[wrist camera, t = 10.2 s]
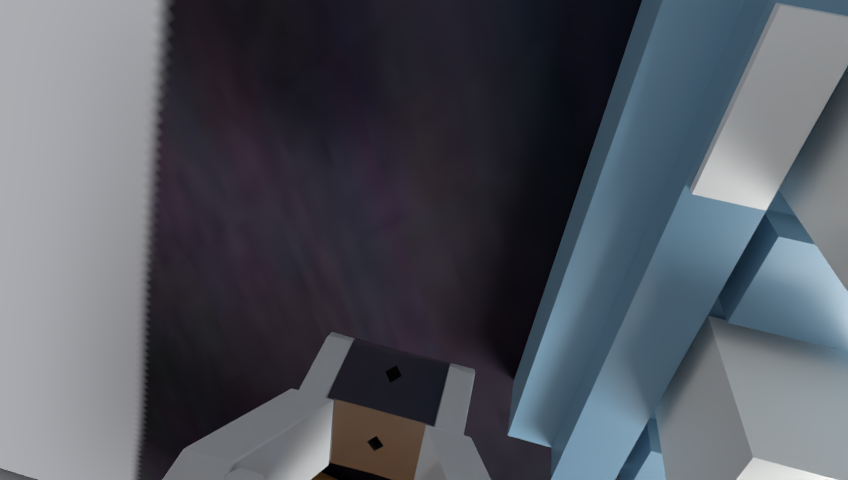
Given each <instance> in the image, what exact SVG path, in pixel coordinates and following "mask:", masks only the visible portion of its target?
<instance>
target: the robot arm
mask: <svg viewBox="0 0 848 480" xmlns="http://www.w3.org/2000/svg"><path fill="white" fill-rule="evenodd" d="M449 364H450V366H449ZM448 369H449V370H448ZM447 373H448V374H447ZM446 377H447V378H446ZM474 377H475V370H474V369H472V368H468V367H464V366H460V365H456V364H452V363H448V362H444V361H440V360H436V359H432V358H428V357H424V356H420V355H416V354H412V353H408V352H404V351H399V350H395V349H392V348H388V347H385V346H381V345H378V344H374V343H371V342H367V341H364V340H360V339H357V338H356V339H355V338H352V337H348V336H345V335H341V334H338V333H334V332H332V333H331V334H329V335H328V336H327V338H326V340H325V342H324V344H323V345H322V347H321V349H320V351H319V353H318V355H317V357H316V359H315V360H314V362H313V364H312V366H311V368H310V370H309V372H308V374H307V375H306V377H305V379H304V381H303V383H302V385H301V387H300V388H299V390H296V389H292V388H291V389H290V390H288V391H286V392H284V393H282V394H281V395H279V396H277V397H275V398H273V399H272V400H270V401H268V402H266V403H265V404H263V405H261V406H259V407H257V408H256V409H254V410H252V411H250V412H248V413H247V414H245V415H243V416H241V417H239V418H238V419H236V420H234V421H232V422H230V423H229V424H227V425H225V426H223V427H222V428H220V429H218V430H216V431H214V432H213V433H211V434H209V435H207V436H205V437H204V438H202V439H200V440H198V441H196V442H195V443H193V444H191V445H189V446H187V447H186V448H184V449H183V450H182V452H181V453H180V455H179V456H178V458H177V459H176V460H175V462H174V463H173V465H172V466H171V468H170V469H169V471H168V472H167V474H166V475H165V476H164V478H163V479H162V480H311V479H312V478H313V477H315V476H316V475H317V474H318V473H319V472H321V471H322V470H323V469H324V468H326V467H327V466H328V465H329V462H330V463H334V464H338V465H342V466H346V467H349V468H353V469H357V470H361V471H365V472H369V473H372V474H376V475H379V476H382V477H385V478H388V479H392V480H491V479H490V477H489V474H488V472H487V470H486V468H485V466H484V464H483V462H482V460H481V458H480V456H479V454H478V451H477V449H476V447H475V445H474V443H473V441H472V439H471V437H468V436H464V430H465V425H466V419H467V414H468V409H469V403H470V398H471V393H472V387H473V382H474ZM0 480H37V479H33V478H30V477H27V476H24V475H20V474H17V473H14V472H10V471H7V470H4V469H1V468H0Z"/></svg>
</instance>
